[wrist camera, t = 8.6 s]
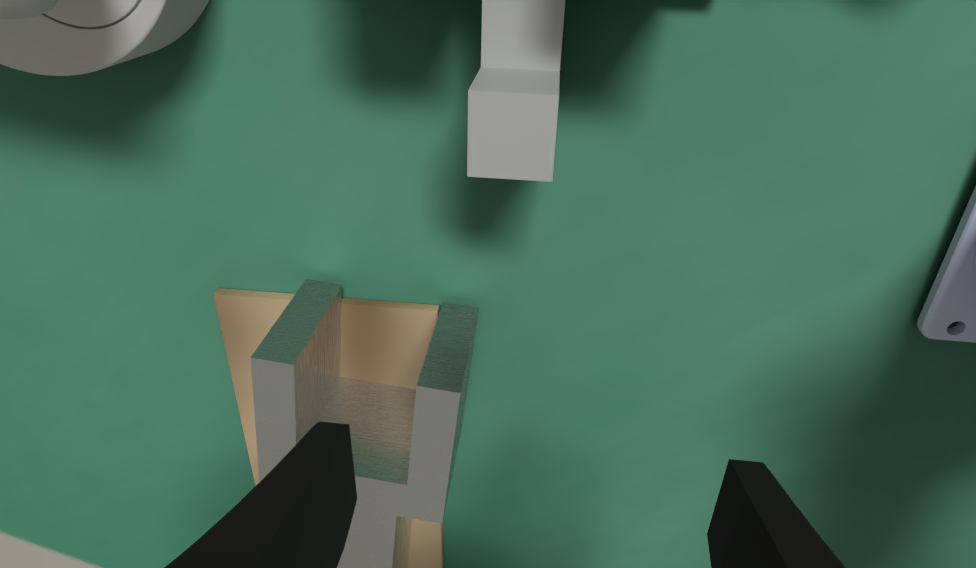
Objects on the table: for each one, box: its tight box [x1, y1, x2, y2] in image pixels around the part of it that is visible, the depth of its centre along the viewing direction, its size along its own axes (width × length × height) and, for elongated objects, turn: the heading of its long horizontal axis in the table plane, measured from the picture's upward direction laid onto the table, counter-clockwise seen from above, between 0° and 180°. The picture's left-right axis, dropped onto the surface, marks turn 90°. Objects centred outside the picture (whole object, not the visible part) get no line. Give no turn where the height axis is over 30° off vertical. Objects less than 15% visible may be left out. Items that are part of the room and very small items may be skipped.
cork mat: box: [214, 288, 443, 568], centre depth 27 cm, size 8×17×1 cm, turn 179°
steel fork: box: [250, 279, 479, 568], centre depth 24 cm, size 6×14×4 cm, turn 173°
